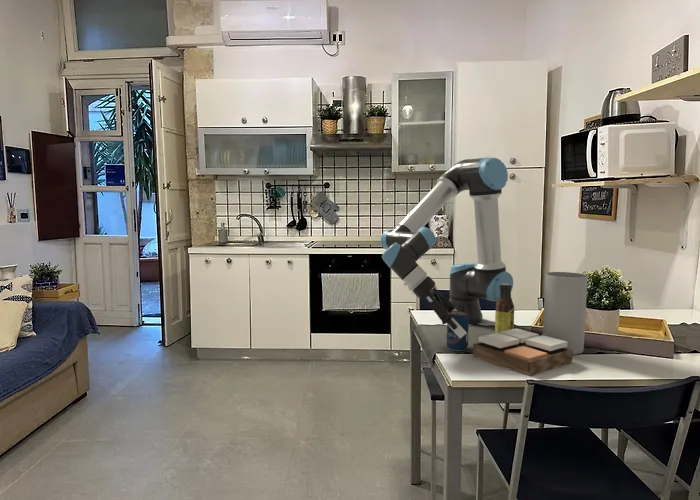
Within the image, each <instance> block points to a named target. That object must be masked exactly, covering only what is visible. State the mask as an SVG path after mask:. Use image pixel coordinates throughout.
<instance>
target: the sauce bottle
mask: <svg viewBox="0 0 700 500" xmlns="http://www.w3.org/2000/svg"><path fill="white" fill-rule="evenodd" d="M499 288H500V298H499V299H498V300H497V301H495V314H494V315H495V317H494V318H495V319H494V333H499V334H500V332H502V331H507V330H511V329H515V305H514V302H513V298H512V291H511V288H512V285H511V284H500V287H499ZM512 289H513V288H512Z"/></svg>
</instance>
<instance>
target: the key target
mask: <svg viewBox="0 0 700 500" xmlns="http://www.w3.org/2000/svg"><path fill="white" fill-rule="evenodd" d="M504 353H506V354H509V355H512V356H515V357H519V358H522V359H525V360H528V361H531V360H534V359H538V358H541V357H545V356H547V353H546V352H542V351H539V350H535V349H532V348H528V347H525V346H520V347H516V348H512V349H508V350H505V352H504Z"/></svg>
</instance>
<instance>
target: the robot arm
mask: <svg viewBox="0 0 700 500" xmlns="http://www.w3.org/2000/svg"><path fill="white" fill-rule="evenodd" d="M508 179H509V175H508V169H507V167H506V165H505V163H504V162H503V161H502V160H501V159H499V158H498V157H487V156H486V157H478V158H468V159H463V160H460V161H458V162H456V163H454V164H453V165H451V166H450V167H449V168H448V169H447V170H445V171H444V173H442V174H441V175H440V177H438V179H437V180H436V184H435V185H434V186H433V188H432V189H430V191H429V192H427V194H426V195H425V196H424V197H423V198H422V199H421V200H420V201H419V202H418V203H417V204H416V205H415V206H414V207H413V209H411V211H410V212H408V214H406V216H404V217H403V219H402V220H401V221H400V222H399V223H398V224H397V225H396V226H395V227H394V228H393V229H389V230H385V231H384V232H383V233H382V234H381V235H380V236H381V237H380V244H381V247H382V248H383V249H385V251H384V252H383V253H382V255H381V258H382V260H383V262H384V263H385V264H386V265H387V267H388V268H390V269H391V270H392V271H393V273H395V274H396V275H397V277H398V278H400V280H402V282H403V286H405V287H406V286H407V287H408V289H411V290H412V293H413V294H414V295H415V296H416V297H418V299H421V298H423V297H424V296H425V299H424V301H425V302H426V303H427V304H428V305H429V306H430V307H431V309H432V310H433V312H434V313H435V315H437V318H439V320H440V321H441V324H442V325H446V326H447V325H448V326H449V327H450V328H451V329H452V330H453V331H454V332H455V333H456V335H457V336H458V337H459V338H462V337H463V336H464V335H465V334H466V333H467V332H466V331H465V330H464V329H463V328H462V327H461V326H460V325H459V324H458V323H457V322H456V321H455V319H454V318H453V317H452V318H451V316H450V315H449V312H451V311H462V312H466V313H467V316H468V318H469V325H470V324H478V323H481V322H482V321H483V320H484V319H483V317H484V315H483V313H482V310H481V306H480V301H479V299H483V300H487V301H490V302H497V300H498V299H499V298H500V288H499V287H500V284H511V285H512V288H511V292H512V290H513V288H514V278H513V276H512V274H511V273H509V272H508V271H507V268H506V267H507V266H506V263H504V262H503V261H502V253H501V236H500V235H501V233H500V215H499V214H500V213H499V197H500V196H501V195H502V193H503V192H502V189H504V188H505V186H506V185H507V182H508ZM465 191H468V192H469V197H470V198H472V199H473V204H474V205H473V207H474V219H475V236H476V237H475V238H476V252H477V253H476V254H477V263H476V262H475V263H458V264H453V265H452V266H451V267H450V273H449V299H448V298H447V297H445V296H444V295H443V294H442V293H441V292H440V291H438V290H437V288H436V287H435V286H436V282H435V281H434V279H432V277H430V276H429V275H427V274H428V273H427V272H426V271H425V270H424V269H423V268H422V267H421V265H419V264H418V263H417V261H419V260H420V258H422V256H424V255H425V254H426V253H427V252H428V251H429V250H430V251H431V248H432V247H433V246H434V245H435V244H436V242H437V238H436V234H435V233H434V232H433V231H432V230H431V228H428V227H426V225H427V224H428V223H429V222H431V221H430V220H431V219H433V218H434V216H435V215H436V214H438V213H439V211H440V210H441V209H442V208H443V207H444V206H445V205H446V203H448V202H449V200H450V199H451V198H455V197H457V196H458V194H460V193H462V192H465Z"/></svg>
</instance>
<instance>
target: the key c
mask: <svg viewBox="0 0 700 500" xmlns="http://www.w3.org/2000/svg"><path fill="white" fill-rule="evenodd" d="M526 344H527V345H531V346H534V347H538V348H541V349H545V350H548V351H553V350H556V349H560V348H564V347H567V341H563V340H559V339H555V338H552V337H548V336H544V335H543V334H541V335H539V336H537V337H533V338H529V339H526Z"/></svg>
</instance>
